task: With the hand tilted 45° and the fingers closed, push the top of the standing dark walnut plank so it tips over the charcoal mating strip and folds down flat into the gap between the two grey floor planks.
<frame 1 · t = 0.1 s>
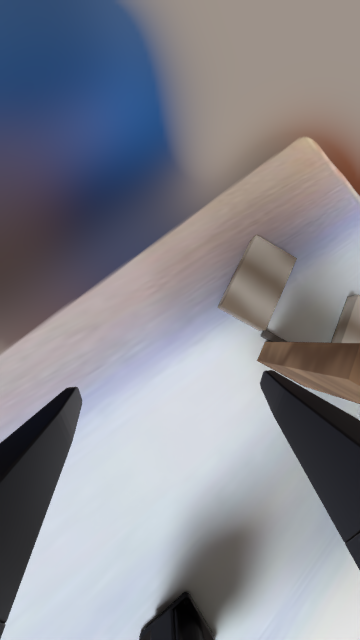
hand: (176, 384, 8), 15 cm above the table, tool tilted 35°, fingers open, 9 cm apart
floor row: (309, 314, 26), on the table
walnut plank: (284, 364, 25), on the table
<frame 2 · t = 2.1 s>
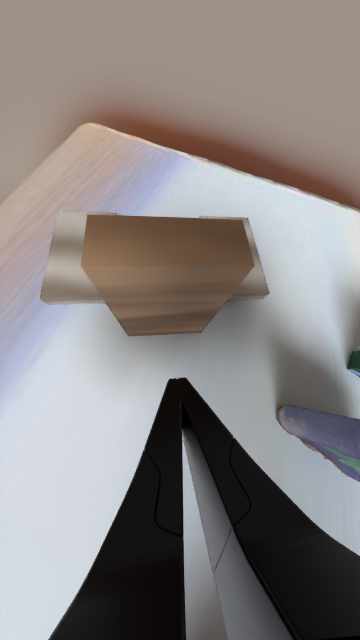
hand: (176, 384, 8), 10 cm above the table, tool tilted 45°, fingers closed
flask: (316, 437, 17), on the table
floor row: (161, 257, 22), on the table
walnut plank: (165, 321, 20), on the table
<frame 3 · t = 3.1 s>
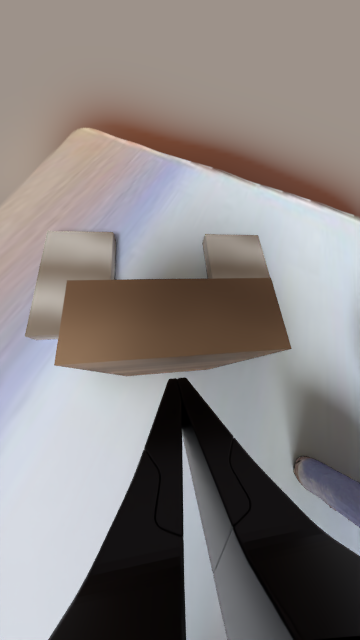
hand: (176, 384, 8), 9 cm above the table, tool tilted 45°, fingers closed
flask: (338, 493, 15), on the table
floor row: (163, 282, 19), on the table
walnut plank: (167, 357, 18), on the table
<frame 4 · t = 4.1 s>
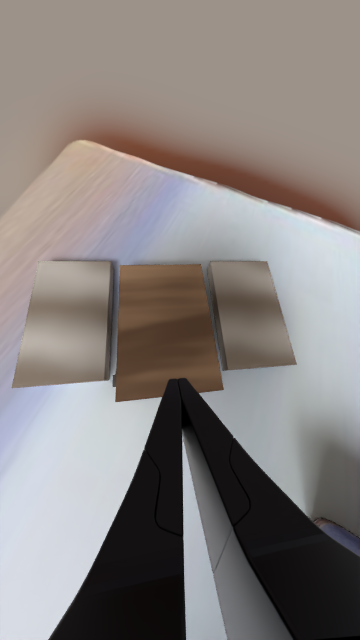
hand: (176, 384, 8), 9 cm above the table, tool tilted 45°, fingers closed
flask: (359, 561, 14), on the table
floor row: (165, 317, 18), on the table
walnut plank: (170, 395, 14), point 2 cm above the table, tilted 93°, touching floor row
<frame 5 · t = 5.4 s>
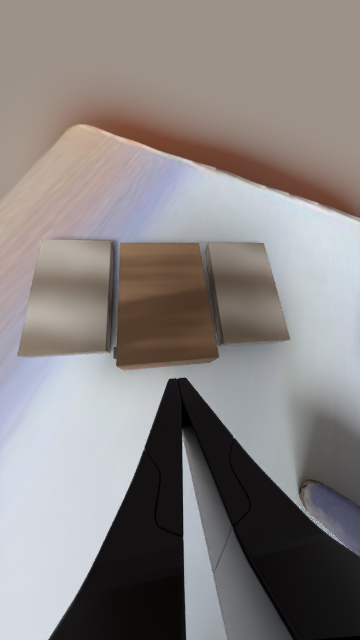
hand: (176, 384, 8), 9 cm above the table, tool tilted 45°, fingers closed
flask: (345, 519, 15), on the table
floor row: (164, 294, 18), on the table
walnut plank: (168, 364, 15), point 2 cm above the table, tilted 93°, touching floor row
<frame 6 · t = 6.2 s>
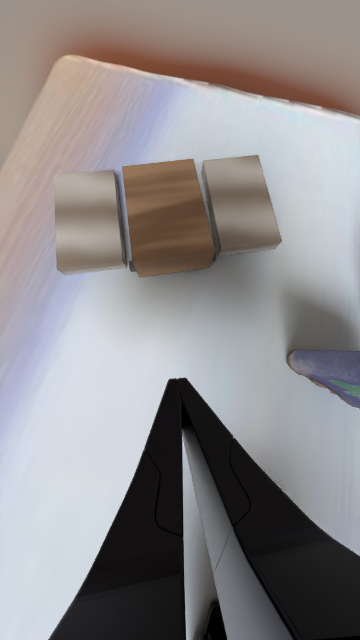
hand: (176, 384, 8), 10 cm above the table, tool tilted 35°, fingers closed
flask: (324, 376, 19), on the table
floor row: (166, 214, 21), on the table
walnut plank: (174, 265, 18), point 2 cm above the table, tilted 93°, touching floor row
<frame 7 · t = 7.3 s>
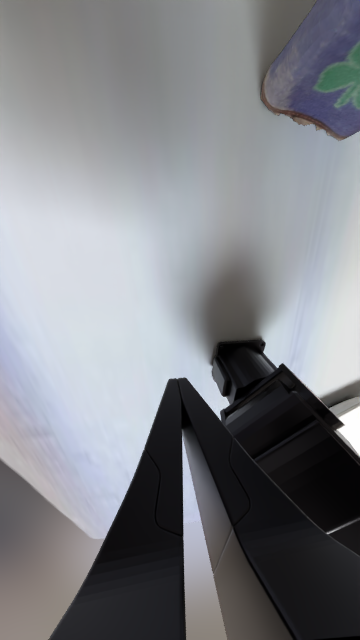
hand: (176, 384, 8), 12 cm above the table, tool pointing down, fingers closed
flask: (310, 106, 14), on the table
square plate: (301, 444, 39), on the table
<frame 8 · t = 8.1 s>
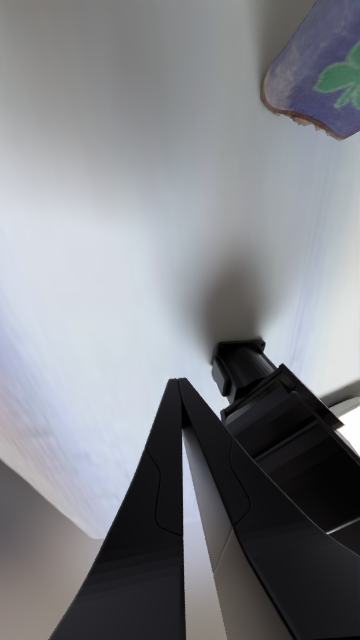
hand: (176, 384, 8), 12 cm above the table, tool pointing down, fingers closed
flask: (310, 106, 14), on the table
square plate: (301, 444, 39), on the table
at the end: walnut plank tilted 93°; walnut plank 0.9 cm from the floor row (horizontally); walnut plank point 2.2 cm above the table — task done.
